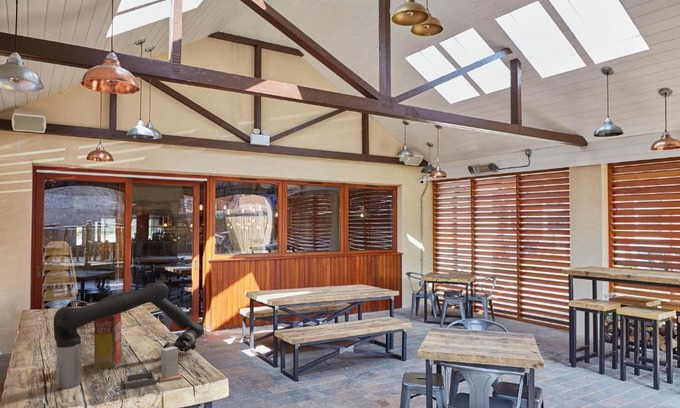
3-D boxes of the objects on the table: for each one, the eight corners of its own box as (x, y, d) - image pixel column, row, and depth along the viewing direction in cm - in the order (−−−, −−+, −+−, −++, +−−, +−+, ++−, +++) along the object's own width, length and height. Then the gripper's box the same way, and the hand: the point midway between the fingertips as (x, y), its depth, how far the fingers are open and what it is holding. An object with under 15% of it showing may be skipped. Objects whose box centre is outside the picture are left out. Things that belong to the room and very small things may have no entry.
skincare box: (173, 372, 214) (172, 346, 215) (178, 374, 212) (178, 347, 212) (161, 376, 210) (160, 349, 210) (166, 378, 207) (165, 350, 207)
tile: (160, 382, 205) (160, 380, 205) (159, 375, 213) (159, 374, 213) (182, 378, 208) (182, 376, 208) (180, 372, 216) (180, 370, 216)
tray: (125, 388, 198) (125, 383, 198) (125, 380, 209) (125, 375, 209) (154, 383, 202) (154, 379, 203) (153, 375, 213) (153, 371, 213)
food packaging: (114, 368, 226) (113, 315, 227) (93, 369, 225) (92, 316, 225) (122, 359, 239) (121, 310, 240) (102, 361, 238) (101, 311, 238)
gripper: (170, 334, 235) (159, 343, 219) (199, 332, 236) (191, 341, 220) (170, 349, 235) (160, 359, 219) (200, 348, 236) (191, 358, 219)
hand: (175, 350), depth 219 cm, fingers open, 8 cm apart
